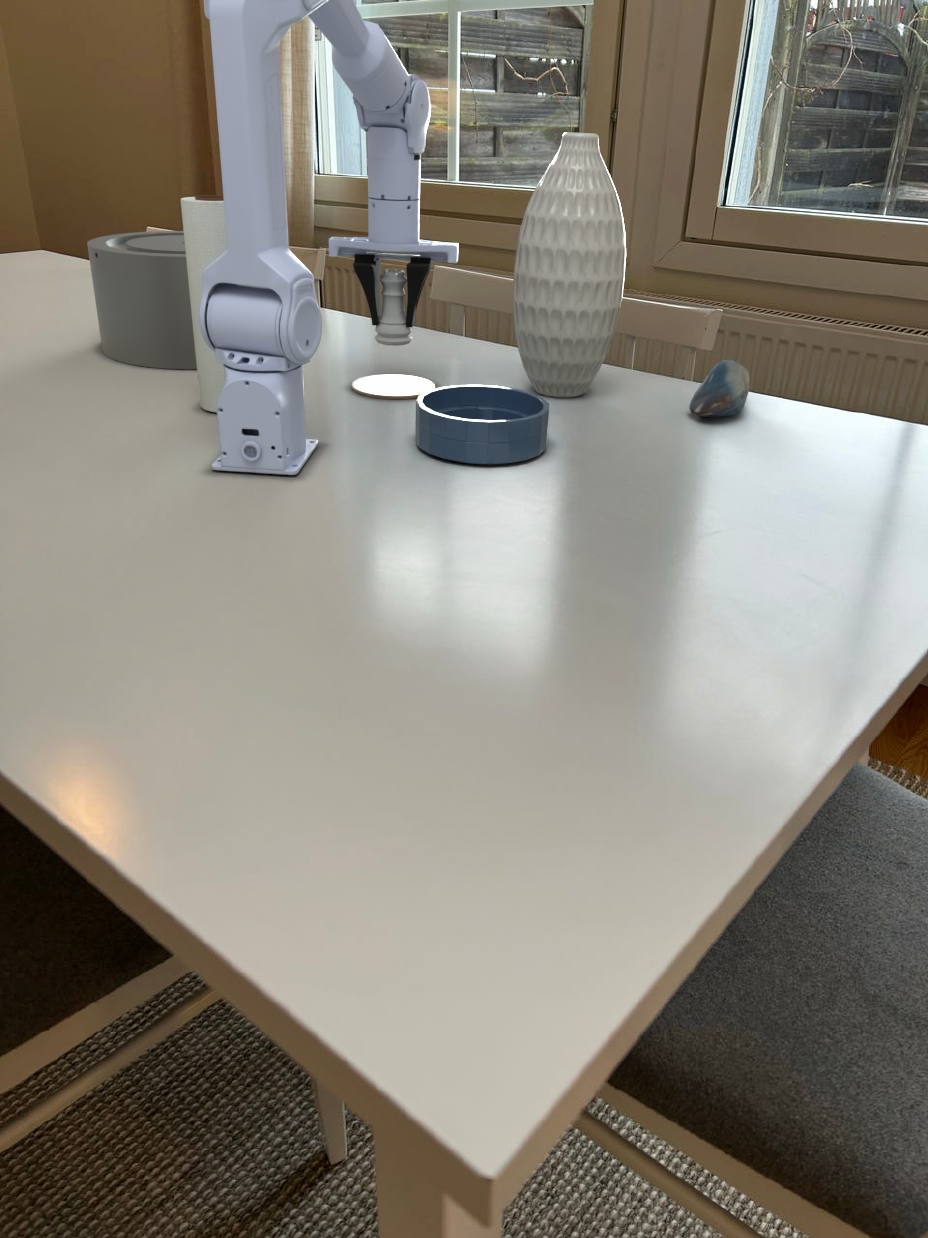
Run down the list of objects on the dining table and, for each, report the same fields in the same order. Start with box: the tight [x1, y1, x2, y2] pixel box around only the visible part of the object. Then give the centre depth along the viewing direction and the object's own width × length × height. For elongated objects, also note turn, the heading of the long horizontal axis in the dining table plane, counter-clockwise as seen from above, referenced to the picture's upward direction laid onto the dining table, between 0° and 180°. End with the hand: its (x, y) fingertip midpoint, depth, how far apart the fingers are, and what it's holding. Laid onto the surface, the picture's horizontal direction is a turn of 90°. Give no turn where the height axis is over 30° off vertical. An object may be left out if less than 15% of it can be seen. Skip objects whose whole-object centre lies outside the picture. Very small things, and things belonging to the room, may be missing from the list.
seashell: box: [688, 359, 751, 418], centre depth 109 cm, size 6×9×10 cm
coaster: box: [351, 373, 436, 400], centre depth 115 cm, size 10×10×1 cm
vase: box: [512, 131, 627, 399], centre depth 110 cm, size 13×13×28 cm
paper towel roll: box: [180, 194, 265, 413], centre depth 100 cm, size 7×6×21 cm
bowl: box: [414, 384, 550, 466], centre depth 96 cm, size 13×13×4 cm
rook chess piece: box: [374, 268, 413, 347], centre depth 110 cm, size 4×4×8 cm
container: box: [86, 230, 266, 370], centre depth 126 cm, size 25×25×13 cm
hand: (393, 324), depth 111 cm, fingers closed on rook chess piece, 3 cm apart
